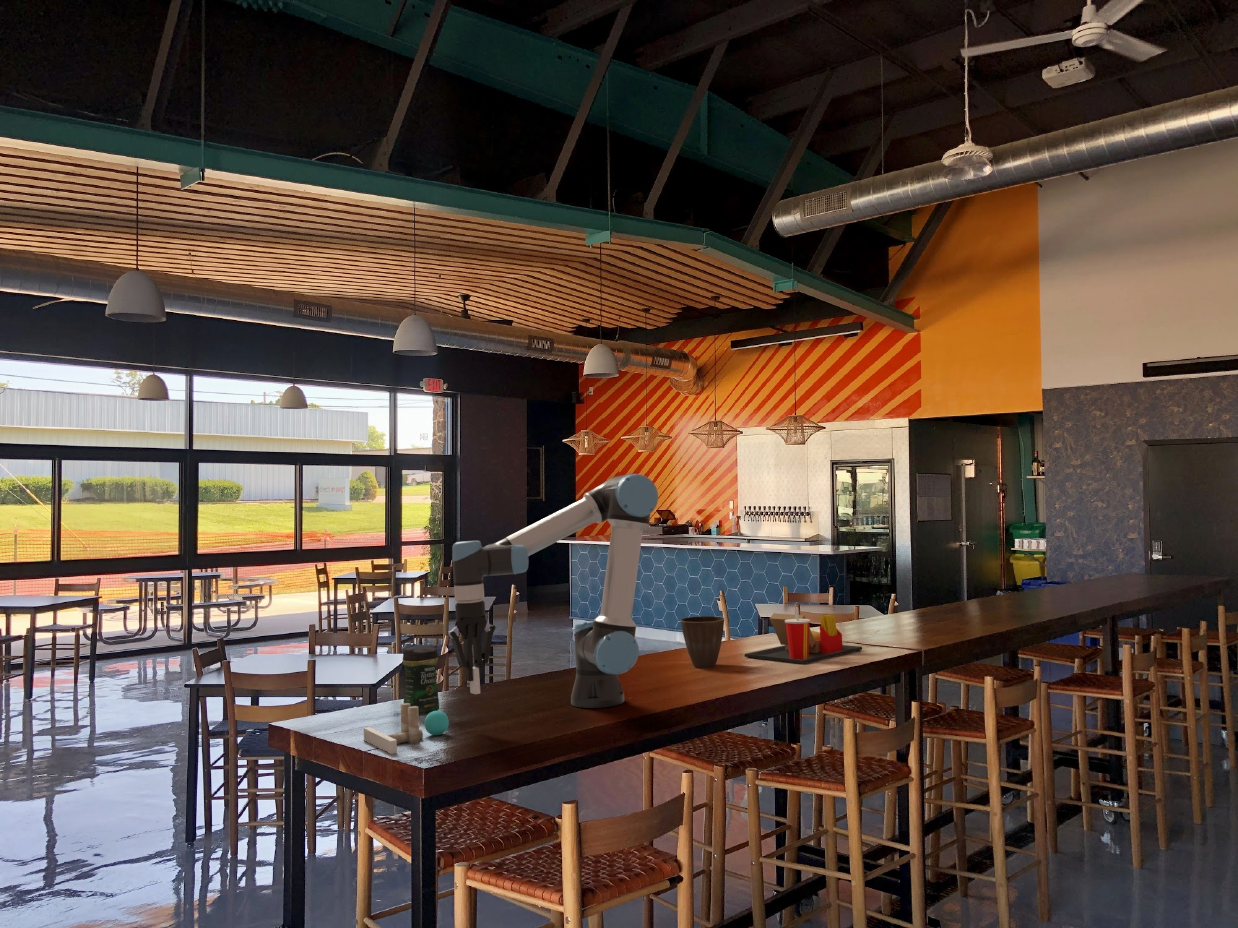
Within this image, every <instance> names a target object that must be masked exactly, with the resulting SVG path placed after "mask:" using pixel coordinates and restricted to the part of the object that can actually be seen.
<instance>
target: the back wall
mask: <svg viewBox="0 0 1238 928" xmlns="http://www.w3.org/2000/svg"><path fill="white" fill-rule="evenodd" d="M364 740H365V741H364ZM363 741H364V742H366V741H367V743H368V742H369V743H368V744H370V743H371V744H370V745H372V744H373V745H372V746H374V745H375V746H374V747H376V746H377V747H376V748H377V749H380V750H382V749H383V750H382V751H384V750H385V751H387V752H388V753H387V752H386V753H387V754H389V753H390V754H389V755H394V753H395V754H398V744H397V740H395V739H393V738H391V737H389V736H387V734H385V733H382V732H381V731H378V730H377V729H374V728H372V727H371V726H367V727H363ZM385 751H384V752H385Z"/></svg>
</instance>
